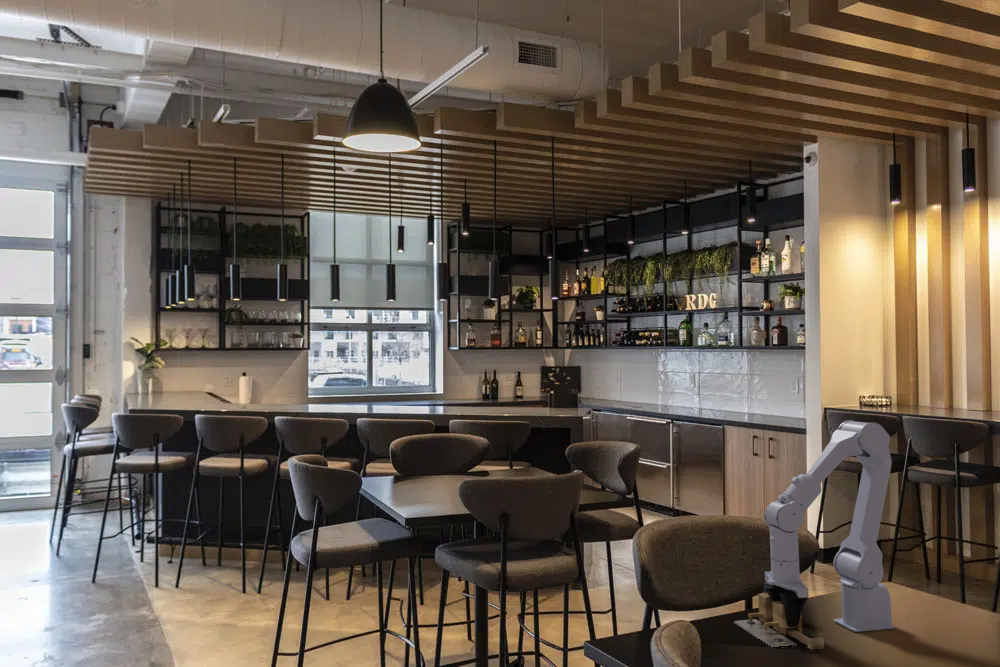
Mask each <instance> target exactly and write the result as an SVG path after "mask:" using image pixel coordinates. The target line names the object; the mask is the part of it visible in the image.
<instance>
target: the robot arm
mask: <svg viewBox="0 0 1000 667" xmlns="http://www.w3.org/2000/svg"><path fill="white" fill-rule="evenodd" d="M890 440H891V435H889V433H888V432H887V431H886V429H885V428H884V427H883V426H882V425H881V424H879V423H877V422H865V421H855V420H850V419H847V420H845V421H843V422H841V423H840V425H839V426H838V427H837V429H836V430H834V431H833V432H832V434H831V437H830V441H828V444H827V445H826V446H825V448H824V449H823V451H822V452H821V453H820V455H819V456H818V458H816V461H815V462H814V464H813V465H812V466H811V467H810V469H809V470H808V471H807V473H799V474H798V475H797V476H793V477H792V479H791V480H790V481H791V483H790V485H789V486H788V487H787V488H786V490H784V492H782V494H780V495H778V497H777V500H775V501H772V502H770V503H769V504H768V506H767V507H766V509H765V513H763V519H764V521H765V523H766V524H767V525H768V528H769V545H770V546H769V547H770V571H764V582H766V581H767V583H768V584H770V585H769V586H765V590H766V591H767V593H768V595H769V597H770V599H771V602H772V601H782V602H783V605H784V608H785V614H786V621H787V625H788V627H798V625H799V621H800V616H802V611H803V609H804V606H805V604H806V602H807V600H808V599H809V587H807V586H806V585H805V584H804V583H803V581H802V579H801V578H800V556H799V552H800V551H799V531H798V530H799V528H800V527H801V526H803V524H804V515H805V513H806V512H807V510H808V509H809V507H810V506H811V505H812V504H813V503H814V502H815V500H816V499H817V498H818V497H819V495H820V494H821V493H822V483H823V482H824V481H825V479H826V478H828V476H829V475H830V474H831V473H832V472H833V471H834V470H835V469H836V468H837V467H838V465H839V464H841V463H842V462H843V460H844V459H845V458H849V457H856V459H857V460H858V461H859V462H860V464H861V465H862V471H861V476H860V481H859V487H858V492H857V497H856V500H855V507H854V510H853V516H852V520H851V521H852V522H851V525H850V531H849V535H848V536H847V537H846V538H845V539H844V540H842V541H841V542H840V547H839V550H838V552H836V554H835V556H834V559H833V568H834V570H835V572H836V573H837V575H839V581H840V593H841V614H842V615H841V618H834V619H833V621H834V622H835V623H836V624H839V625H841V626H842V627H844V628H846V629H848V630H850V631H851V632H854V633H860V632H869V631H883V630H891V629H893V630H894V629H895V626H894V624H893V622H892V603H891V602H892V600H891V595H890V594H891V593H890V591H889V590H888V588H887V586H886V585H885V584H884V583H882V582H881V581H882V579H883V577H884V568H883V557H884V556H883V552H882V550H881V549H880V547H879V545H878V543H877V542H878V537H879V533H880V532H879V530H880V527H881V521H882V516H883V510H884V506H885V500H886V495H887V490H888V486H889V481H890V480H889V479H890V475H891V468H892V466H893V464H892V463H893V462H892V457H891V452H890V448H889V446H890ZM892 624H893V625H892Z"/></svg>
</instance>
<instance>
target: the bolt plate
mask: <svg viewBox="0 0 1000 667" xmlns="http://www.w3.org/2000/svg"><path fill="white" fill-rule="evenodd" d="M733 624H734V625H737V626H738V627H740V629H741V628H742V630H743V631H746V632H747V633H749V634H750V635H752V636H753V637H755V638H756V639H758V640H759V639H760V641H761V640H762V641H763V642H762V641H761V642H762V643H764V642H765V643H766V644H765V643H764V644H765V645H767V644H768V645H767V646H769V645H770V646H771V647H770V646H769V647H770V648H772V647H779V646H789V645H796V646H797V643H795V642H794V641H792V640H791V639H789V638H788V637H786V636H785V635H782V634H780V633H779V632H777V631H775V630H774V629H773V628H771V627H770V626H767V631H765V630H764V623H762V622H761V621H759V619H756V618H754V619H753V618H752V621H749V619H741V620H735V621H733Z"/></svg>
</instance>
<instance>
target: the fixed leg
mask: <svg viewBox="0 0 1000 667" xmlns="http://www.w3.org/2000/svg"><path fill="white" fill-rule="evenodd" d="M757 594H758V598H757V599H758V612H751V613H747V614H748V615H747V617H748V618H749V619H748V620H749V621H752V619H753V618H757V617H758V621H760V622H761V623H762V622H763V624H764V623H767V622H769V619H768V618H773V605H772V602H771V599H770V597H769V595H768V593H764V592H763V593H762V592H761V593H757Z"/></svg>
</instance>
